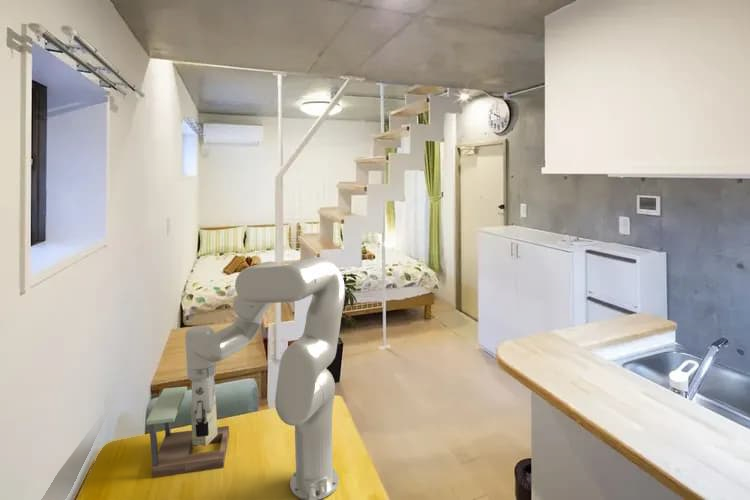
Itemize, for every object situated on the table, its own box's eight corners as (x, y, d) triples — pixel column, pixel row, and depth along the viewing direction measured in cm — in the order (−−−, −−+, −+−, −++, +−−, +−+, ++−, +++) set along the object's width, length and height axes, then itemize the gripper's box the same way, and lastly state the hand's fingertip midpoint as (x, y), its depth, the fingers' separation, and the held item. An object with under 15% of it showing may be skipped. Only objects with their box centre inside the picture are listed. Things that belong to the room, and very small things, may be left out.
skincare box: (205, 447, 118) (203, 407, 116) (191, 445, 118) (189, 405, 117) (218, 434, 124) (216, 396, 122) (204, 432, 125) (202, 394, 123)
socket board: (222, 470, 114) (219, 412, 112) (151, 480, 110) (146, 421, 107) (229, 432, 132) (226, 382, 129) (167, 440, 127) (163, 388, 125)
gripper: (211, 382, 110) (214, 444, 113) (219, 356, 127) (221, 410, 130) (180, 385, 108) (184, 447, 111) (193, 359, 125) (196, 413, 128)
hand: (204, 427), depth 120 cm, fingers closed on skincare box, 7 cm apart
